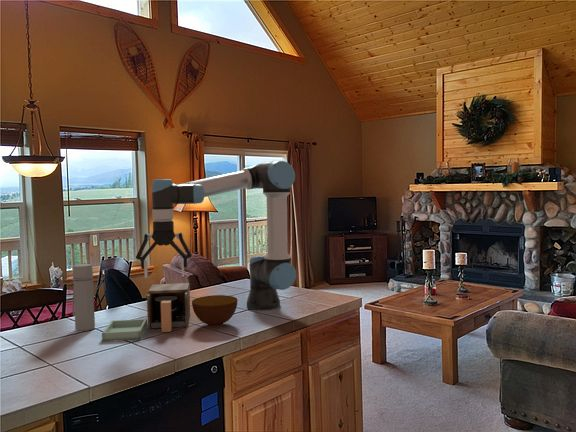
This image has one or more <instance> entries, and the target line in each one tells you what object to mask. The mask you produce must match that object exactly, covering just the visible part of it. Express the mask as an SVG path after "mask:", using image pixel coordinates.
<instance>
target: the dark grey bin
mask: <svg viewBox="0 0 576 432" xmlns="http://www.w3.org/2000/svg"><path fill="white" fill-rule="evenodd" d="M179 311H180V309H177V313H178V312H179ZM183 317H184V318H183ZM176 318H183V320H182V321H179V320H178V321H175V322H172V310H171V301H162V302H161V322H159V323H158V322H157V318H155V320H154V322H153V323H151V328H150V329H160V328H161V333H168V332H169V333H170V332H171V333H172V331H173V330H172V329H173V328H180V327H186V320H185V309H182V312H181V313H180V314H179V315H178V316H177V317H176Z"/></svg>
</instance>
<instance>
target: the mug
mask: <svg viewBox="0 0 576 432" xmlns="http://www.w3.org/2000/svg"><path fill="white" fill-rule="evenodd" d="M162 301H171V310H172V322H177V318H178V317H177V316H178V315H179V314H180V313H181V312H182V309H183V305H182V303H181V302H180V301H179V300H178V299H177V297H175V296H162V297H157V298H155V300H154V303H155V313H156V318H157V321H156V323H159V322H161V302H162ZM178 302H179V303H180V306H181V308H180V311H179V312H178V313H177V307H178Z"/></svg>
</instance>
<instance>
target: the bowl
mask: <svg viewBox="0 0 576 432" xmlns="http://www.w3.org/2000/svg"><path fill="white" fill-rule="evenodd" d="M238 301H239V299H238V298H237V297H235V296H232V295H223V294H216V295H205V296H198V297H197V298H195V299H192V301H191V307H192V310H193V313H194V314H195V316H196V318H197V319H198V320H199V321H200V322H202V323H204V324H206V325H207V327H208V328H210V329H211V328H212V329H215V328H221V327H224V324H225V323H227V322H228V321H229V320H231V318H232V317H233V316H234V314H235V312H236V310H237V308H238Z"/></svg>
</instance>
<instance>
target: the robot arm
mask: <svg viewBox="0 0 576 432" xmlns="http://www.w3.org/2000/svg"><path fill="white" fill-rule="evenodd" d="M295 180H296V172H295V169H294V167H293V166H292V165H291V163H289V162H287V161H285V160H272V161H271V160H270V161H264V162H260V163H258V164H255V165H252V166H248V167H244V168H243V167H242V169H241V170H239V171H235V172H231V173H226V174H222V175H215V176H211V177H206V178H201V179H197V180H192V181H187V182H183V183H179V184H177V183H176V184H175V183H174V182H173V180H172V179H170V178H165V179H164V178H163V179H162V178H161V179H160V178H159V179H157V178H155V179H152V182H151V202H152V210H151V211H152V214H151V215H152V220H153V221H152V234H151V233H150V234H149V233H145V234H144V237H143V241H142V243H141V245H140V248H139V249H138V252H137V254H136V256H135V259H136V260H139V261H140V265H141V269H142V270H144V271H143V273H144V279H147V278H148V259H146V258H148V256H149V255H150V253H151V252H152V251H153V250H154V249H155V248H156V246H157V245H158V246H161V247H162V246H169V245H170V246H171V247H172V248H173V249H174V250H175V251H176V252H177V253H178V255H180V256H181V257H182V258H181V277H182V278H185V268H188V259H189V258H191V257H192V256H193V255H192V252H191V251H190V249H189V247H188V245H187V243H186V241H185V240H184V236H183V233H182V232H178V233H175V232H174V231H175V229H174V228H175V227H174V226H175V225H174V224H175V222H174V221H173V220H174V205H189V204H190V205H191V204H192V205H195V204H196V205H197V204H202V203H203V202H204V200H205V198H206V197H213V196H217V195H220V194H224V193H230V192H234V191H239V190H242V189H245V190H247V191H248V190H254V189H255V190H256V189H262V194H263V195H264V196H265V197H266V232H267V234H266V238H267V240H266V241H267V242H266V243H267V253H266V254H265V255H257V256H251V257H250V259H249V264H248V265H249V287H250V290H249V293H248V297H247V299H246V308H248V309H250V310H254V311H255V310H257V311H266V310H267V311H268V310H269V311H270V310H274V309H277V308H279V307H281V299H280V297H279V294H278V291H277V290H279V291H285V290H287V289H289V288H291V287H292V285H293V284H294V283H295V281H296V279H297V270H296V268H295V266H294V265H293V264H292V255H290V254H289V253H288V196H289V195H290V194H291V187H292V186H293V184H294V183H295ZM151 238H152V239H153V243H151V246H150V247H149V248H148V249H147V250H146V252H145V253H144V254H143V251H144V250H145V248H146V245H147V243H148V241H149V240H150V239H151ZM175 238H176V239H177V240H179V242H180V243H181V246H182V248H183V250H184V251H185V253H184V251H183V250H182V249H181V248H180V247H179V246H178V245H177V244H176V242H175V241H174V239H175ZM142 254H143V255H142Z"/></svg>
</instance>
